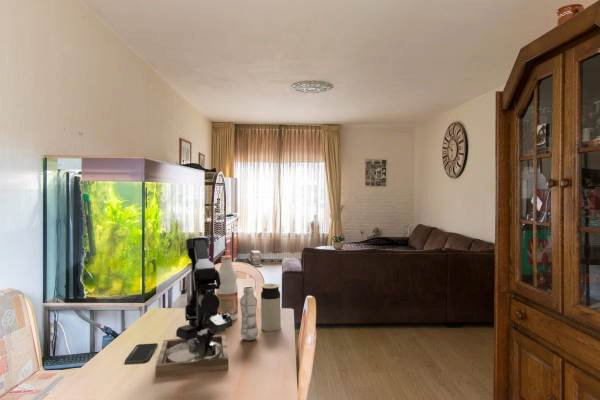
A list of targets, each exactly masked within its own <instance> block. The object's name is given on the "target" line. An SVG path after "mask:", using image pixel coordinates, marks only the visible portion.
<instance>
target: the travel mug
mask: <svg viewBox="0 0 600 400" xmlns="http://www.w3.org/2000/svg"><path fill="white" fill-rule="evenodd" d="M260 287H261V288H262V291H261V292H260V313H261V314H260V315H261V316H260V320H261V321H260V322H261V324H260V326H261V330H263V331H265V332H276V331H278V330H280V329H282V328H281V322H282V321H281V320H282V319H281V292H280V290H279V288H280V284H278V283H276V282H275V283H273V282H270V283H263V284H261V286H260Z"/></svg>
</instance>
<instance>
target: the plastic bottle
mask: <svg viewBox="0 0 600 400" xmlns="http://www.w3.org/2000/svg"><path fill="white" fill-rule="evenodd" d="M239 305H240V312H241V327H240V332H239V333H240V338H241V339H242V340H244V341H253V340H256V339H257V337H258V335H259V331H258V325H257V307H258V306H257V305H258V300H257V297H256V295H254V286H244V287H243V295H242V296H241V298H240V300H239Z"/></svg>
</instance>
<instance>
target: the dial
mask: <svg viewBox="0 0 600 400" xmlns="http://www.w3.org/2000/svg"><path fill="white" fill-rule="evenodd" d="M220 354H221V346H220V345H219V344H218V343H216V342H213V341H211V342H210V345H209V348H208V351H207V353H206V354H205V353H204V352H203V350H202V347H201V345H200V343H199V341H198V339H197V338H193V339H189V340H188V342H184V343H180V344H177V345H175V346H173V347H171V348H170V349H169V350H168V351H167V353H166V359H167V361H168V362H169V363H172V362H181V361H191V360H194V359H195V360H200V359H210V358H217V357H219V356H220Z"/></svg>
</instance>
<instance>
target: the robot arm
mask: <svg viewBox="0 0 600 400" xmlns="http://www.w3.org/2000/svg"><path fill="white" fill-rule="evenodd" d="M184 244H185V245H184V246H185V247H184V248H185V251H186V252H187V257H188V259H190V295H189V296H188V297H187V299H186V304H185V308H184V319H185V321H186V322H188V324H184V325H182V326H179V327H177V329H176V332H175V333H176V334H175V337H177V338H179V339H181V338H182V339H185V340H189V339H193V338H197V339H198V341H199V343H200V345H201V347H202V350H203V352H204V353H205V354H206V353H207V351H208V348H209V345H210V342H211V340H212V338H213V336H214V335H218V334H219V333H221V332H225V331H226V330H227V328H231V327H233V320H232V319H231V318H230V315H229V314H228V313H227V314H224V315H218V310H217V309H218V308H219V305H220V301H219V298H218V297H217V296H216V289H220V287H219V286H220V285H221V282H220V276H219V272H218V271H219V270H218V269H217V268H216V266H215V263H214V262H212V261H211V260H210V256H209V252H208V250H209V248H210V240H209V238H208V237H206V236H203V235H200V236H193V237H188V238H187V239H186V240H185V243H184Z"/></svg>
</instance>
